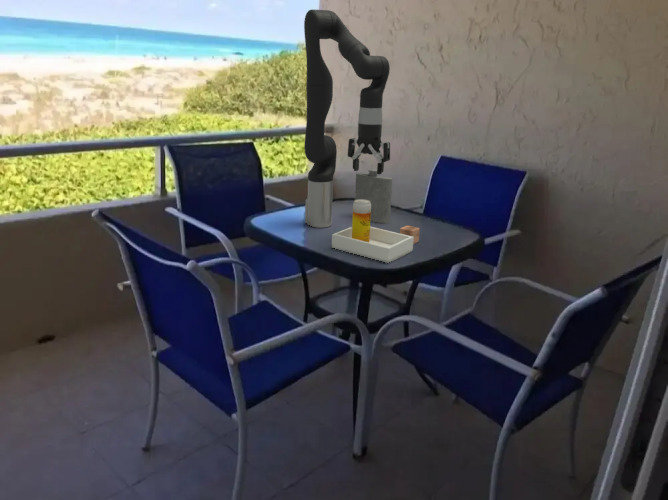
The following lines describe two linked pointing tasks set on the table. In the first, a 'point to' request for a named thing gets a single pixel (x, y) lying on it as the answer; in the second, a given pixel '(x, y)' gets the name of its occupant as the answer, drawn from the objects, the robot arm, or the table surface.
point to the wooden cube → (411, 232)
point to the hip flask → (375, 194)
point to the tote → (374, 244)
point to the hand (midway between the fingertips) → (367, 172)
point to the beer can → (361, 220)
